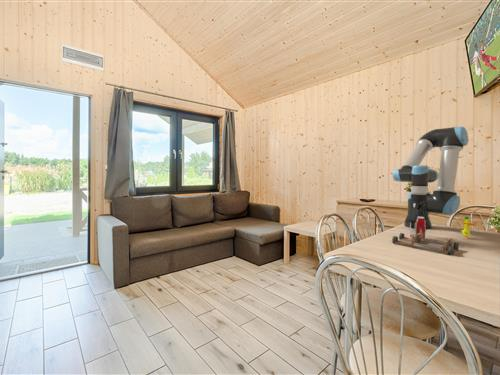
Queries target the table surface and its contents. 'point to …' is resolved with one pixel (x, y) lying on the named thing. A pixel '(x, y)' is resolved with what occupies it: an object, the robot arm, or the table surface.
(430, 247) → the chassis
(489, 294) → the table surface
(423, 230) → the soda can
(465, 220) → the toy figure
